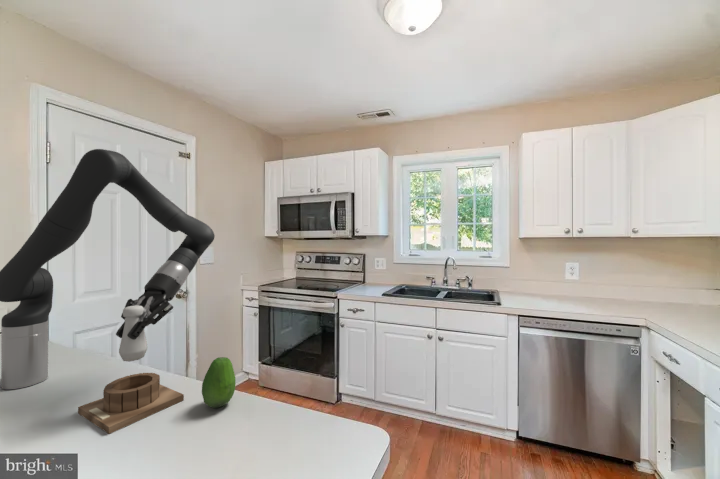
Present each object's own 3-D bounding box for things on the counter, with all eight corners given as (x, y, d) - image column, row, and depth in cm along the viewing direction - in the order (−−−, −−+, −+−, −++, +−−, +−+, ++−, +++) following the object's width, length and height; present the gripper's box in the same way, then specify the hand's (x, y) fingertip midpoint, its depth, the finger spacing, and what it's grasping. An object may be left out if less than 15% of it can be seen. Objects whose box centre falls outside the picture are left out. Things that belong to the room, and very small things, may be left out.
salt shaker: (132, 364, 73) (131, 309, 73) (112, 362, 74) (112, 308, 74) (153, 354, 79) (153, 304, 79) (134, 353, 80) (134, 303, 80)
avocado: (241, 404, 77) (241, 357, 77) (208, 418, 71) (208, 366, 71) (227, 394, 83) (227, 349, 83) (196, 405, 77) (196, 357, 77)
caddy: (78, 413, 73) (78, 388, 73) (150, 385, 87) (150, 364, 87) (109, 434, 65) (109, 405, 65) (183, 400, 79) (183, 377, 79)
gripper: (139, 271, 86) (91, 327, 74) (180, 272, 82) (137, 331, 70) (156, 287, 91) (114, 342, 79) (196, 289, 87) (157, 347, 75)
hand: (125, 337), depth 75 cm, fingers closed on salt shaker, 3 cm apart
